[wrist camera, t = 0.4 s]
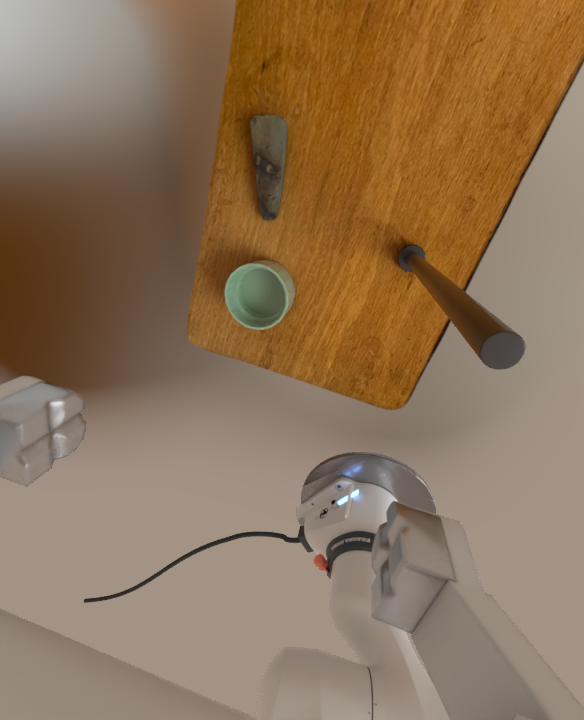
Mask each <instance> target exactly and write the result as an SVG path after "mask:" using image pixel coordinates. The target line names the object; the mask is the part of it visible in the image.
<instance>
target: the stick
mask: <svg viewBox="0 0 584 720" xmlns="http://www.w3.org/2000/svg"><path fill="white" fill-rule="evenodd" d="M398 262H399V265H400V266H401V268H402V269H404V270H405V271H409V272H412V271H413V272H414V273H415V275H416V276H417V277H418V279H419V280H420V281H421V282H422V284H423V285H424V286H425V288H426V289H427V290H428V292H429V293H430V294H431V295H432V297H433V298H434V299H435V301H436V302H437V303H438V304H439V306H440V307H441V308H442V310H443V311H444V312H445V314H446V315H447V316H448V317H449V319H450V320H451V321H452V323H453V324H454V325H455V327H456V328H457V329H458V330H459V332H460V333H461V334H462V335H463V337H464V338H465V340H466V341H467V342H468V343H469V345H470V346H471V347H472V349H473V350H474V351H475V353H476V354H477V355H478V356H479V358H480V359H481V360H482V362H483V363H484V364H485V365H487V366H488V367H490V368H493V369H507V368H510V367H512V366H514V365H516V364H517V363H518V362H519V361H520V360H521V359H522V358H523V356H524V354H525V350H526V346H525V342H524V340H523V339H522V337H521V336H520V335H518V334H517V333H516V332H514V331H513V330H512V329H511V328H509V327H508V326H507V325H505V324H504V323H503V322H502V321H501V320H499V319H498V318H497V317H496V316H494V315H493V314H492V313H491V312H489V311H488V310H487V309H485V308H484V307H483V306H482V305H481V304H479V303H478V302H477V301H475V300H474V299H473V298H472V297H470V296H469V295H468V294H467V293H466V292H464V291H463V290H462V289H461V288H459V287H458V286H457V285H456V284H454V283H453V282H452V281H450V280H449V279H448V278H447V277H445V276H444V275H443V274H442V273H440V272H439V271H438V270H437V269H435V268H434V267H433V266H432V265H430V264H429V263H428V262H427V261H425V253H424V251H423V249H422V248H420V247H419V246H417V245H409V246H406V247H405V248H403V249H402V250H401V252H400V254H399V257H398Z"/></svg>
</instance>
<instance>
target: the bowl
mask: <svg viewBox="0 0 584 720" xmlns="http://www.w3.org/2000/svg"><path fill="white" fill-rule="evenodd" d="M224 294H225V303H226V305H227V308H228V310H229V312H230V313H231V315H232V316H233V317H234V319H235V320H236V321H238V322H239V323H240V324H242V325H243V326H245V327H248V328H251V329H256V330H264V329H267V328H271V327H273V326H274V325H276V324H277V323H279V322H280V321H281V320H282V319H283V317H284V316H285V315H286V314H287V313H288V311H289V310H290V309H291V307H292V305H293V302H294V299H295V286H294V283H293V280H292V278H291V276H290V274H289V273H288V272H287V270H286V269H285V268H283V267H282V266H281V265H279V264H278V263H276V262H273V261H270V260H256V261H254V262H251V263H248V264H245V265H243V266H240V267H238V268H237V269H236V270H235V271H234V272H232V273H231V275H230V276H229V278H228V280H227V282H226V286H225V291H224Z"/></svg>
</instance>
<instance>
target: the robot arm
mask: <svg viewBox="0 0 584 720" xmlns="http://www.w3.org/2000/svg"><path fill="white" fill-rule="evenodd" d="M84 409H85V400H84V397H83V396H82V395H80V394H79V393H76V392H74V391H71V390H68V389H65V388H62V387H60V386H57V385H54V384H52V383H49V382H45V381H42V380H40V379H37V378H34V377H32V376H21V377H18V378H16V379H14V380H11V381H9V382H7V383H4V384H2V385H0V477H1V478H3V479H7V480H9V481H12V482H15V483H18V484H21V485H24V486H28V485H30V484H31V483H33V482H34V481H35V480H36V479H38V478H39V477H40V476H42V475H43V474H44V473H46V472H47V471H48V470H50V469H51V468H52V465H53V462H54V460H56V459H59V458H63V457H66V456H68V455H69V454H70V453H72V452H73V451H74V450H75V449H77V447H78V445H79V444H80V443H81V441H82V440H83V438H84V434H85V431H86V422H85V420H84V419H83V417H82V415H81V414H80V413H81V412H82V411H83V410H84ZM338 485H340V486H338ZM296 516H297V519H298V522H299V524H300V525H301V526H300V530H299V534H298V538H289V537H287V536H286V535H284V534H279V533H273V532H246V533H240V534H236V535H232V536H229V537H226V538H223V539H220V540H217V541H214V542H211V543H209V544H206V545H204V546H201V547H199V548H197V549H195V550H193V551H191V552H189V553H188V554H185V555H184V556H182V557H180V558H179V559H177V560H176V561H174V562H172V563H171V564H169V565H168V566H166V567H165V568H163V569H162V570H161V571H159V572H157V573H156V574H154V575H153V576H151V577H150V578H148V579H147V580H145V581H143V582H141V583H140V584H138V585H137V586H134V587H132V588H130V589H128V590H125V591H123V592H120V593H117V594H114V595H110V596H105V597H99V598H90V599H85V600H84V602H85V603H86V602H96V601H102V600H107V599H112V598H116V597H119V596H122V595H125V594H127V593H130V592H132V591H134V590H136V589H138V588H140V587H142V586H143V585H145V584H147V583H148V582H150V581H152V580H153V579H155V578H156V577H158V576H159V575H161V574H162V573H164V572H165V571H167V570H168V569H170V568H172V567H173V566H175V565H176V564H178V563H179V562H181V561H183V560H185V559H186V558H188V557H190V556H192V555H194V554H196V553H198V552H200V551H202V550H205V549H207V548H210V547H212V546H215V545H218V544H221V543H225V542H228V541H231V540H234V539H238V538H242V537H250V536H268V537H276V538H281V539H283V540H284V541H286V542H290V543H299V542H301V543H302V544H303V546H304V547H305V549H306V550H307V552H312V551H314V552H315V553H316V554H317V556H316V557H315V560H314V563H315V565H316V566H318V567H319V569H320V570H325V571H326V572H327V575H328V577H329V578H330V579H331V582H330V591H329V601H328V612H329V617H330V620H331V623H332V625H333V627H334V629H335V631H336V633H337V634H338V636H339V637H340V638H341V639H342V640H343V641H344V642H345V643H346V644H347V645H348V647H349V648H350V649H351V650H352V651H353V652H354V654H355V655H356V657H357V659H358V660H359V662H360V664H358V663H355V662H352V661H349V660H346V659H344V658H340V657H338V656H335V655H332V654H329V653H326V652H324V651H321V650H317V649H308V648H296V647H285V648H283V649H282V650H280V651H279V652H278V653H277V654H276V655H275V656H274V657H273V659H272V660H271V661H270V663H269V664H268V666H267V668H266V670H265V672H264V674H263V676H262V679H261V682H260V685H259V689H258V694H257V702H256V718H254V717H252V716H250V715H248V714H245V713H243V712H241V711H238V710H236V709H234V708H231V707H229V706H227V705H224V704H222V703H220V702H217V701H215V700H212V699H210V698H208V697H206V696H203V695H201V694H199V693H196V692H194V691H192V690H189V689H187V688H185V687H182V686H180V685H178V684H175V683H173V682H170V681H168V680H166V679H164V678H161V677H159V676H156V675H154V674H152V673H149V672H147V671H145V670H142V669H140V668H138V667H135V666H133V665H131V664H128V663H126V662H124V661H121V660H119V659H117V658H114V657H112V656H110V655H107V654H105V653H102V652H100V651H98V650H96V649H93V648H91V647H89V646H86V645H84V644H81V643H79V642H77V641H74V640H72V639H70V638H67V637H65V636H63V635H60V634H58V633H55V632H53V631H51V630H49V629H46V628H44V627H42V626H39V625H37V624H35V623H32V622H30V621H28V620H25V619H23V618H21V617H18V616H16V615H14V614H11V613H9V612H7V611H4V610H2V609H0V720H584V708H583V706H582V705H581V704H580V703H579V701H578V700H577V699H576V698H575V696H574V695H573V694H572V693H571V692H570V690H569V689H568V688H567V687H566V685H564V683H563V682H562V681H561V679H560V678H559V677H558V676H557V675H556V673H555V672H554V671H553V670H552V669H551V667H550V666H549V665H548V664H547V662H546V661H545V660H544V659H543V657H542V656H541V655H540V654H539V653H538V652H537V650H536V649H535V648H534V647H533V645H532V644H531V643H530V642H529V640H528V639H527V638H526V637H525V636H524V634H523V633H522V632H521V631H520V629H519V628H518V627H517V626H516V625H515V623H514V622H513V621H512V620H511V619H510V617H509V616H508V615H507V614H506V612H505V611H504V610H503V609H502V608H501V606H500V605H499V604H498V603H497V601H496V600H495V599H494V598H493V597H492V595H489V594H487V593H484V591H483V588H482V585H481V581H480V578H479V575H478V572H477V569H476V566H475V562H474V559H473V556H472V553H471V550H470V547H469V543H468V541H467V537H466V534H465V531H464V528H463V525H462V524H461V523H460V522H459V521H456V520H453V519H450V518H447V517H444V516H441V515H435V514H433V513H430V512H427V511H424V510H421V509H418V508H415V507H412V506H409V505H406V504H403V503H400V502H398V501H397V499H396V498H395V497H394V496H393V495H392V494H391V493H390V492H389V491H387V490H386V489H384V488H382V487H380V486H377V485H374V484H370V483H362V482H356V481H354V480H351V479H349V478H346V477H340V478H338V479H336V480H335V481H334V482H332V483H331V484H329V485H328V486H326V487H325V488H324V489H322V490H321V491H319V492H318V493H316V494H315V495H314V496H312V497H311V498H309V499H308V500H306V501H305V502H303V503H302V504H301V505H299V506H298V507H297V508H296ZM406 632H408V633H411V634H412V635H411V637H412V639H413V642H414V644H415V646H416V648H417V650H418V652H419V654H420V656H421V659H422V661H423V662H424V665H425V667H426V669H427V671H428V674H429V676H430V678H431V679H430V678H429V676H428V675H427V673H426V672H425V670H424V668H423V667H422V665H421V663H420V662H419V660H418V658H417V656H416V654H415V652H414V650H413V648H412V646H411V644H410V641H409V639H408V636H407V634H406Z"/></svg>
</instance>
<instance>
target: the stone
mask: <svg viewBox="0 0 584 720" xmlns="http://www.w3.org/2000/svg"><path fill="white" fill-rule="evenodd" d="M250 125H251V136H252V148H253V157H254V166H255V172H256V185H257V193H258V201H259V207H260V212H261V216H262V218H263V219H264V220H267V221H268V220H274V219H275V218H276V217H277V214H278V210H279V205H280V200H281V194H282V187H283V180H284V171H285V159H286V144H287V124H286V122H285V121H284V120H283V119H282V118H281V117H279V116H276V115H268V114H266V115H264V116H261V115H256V116H255V117H253V118H252V119H251V121H250Z"/></svg>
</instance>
